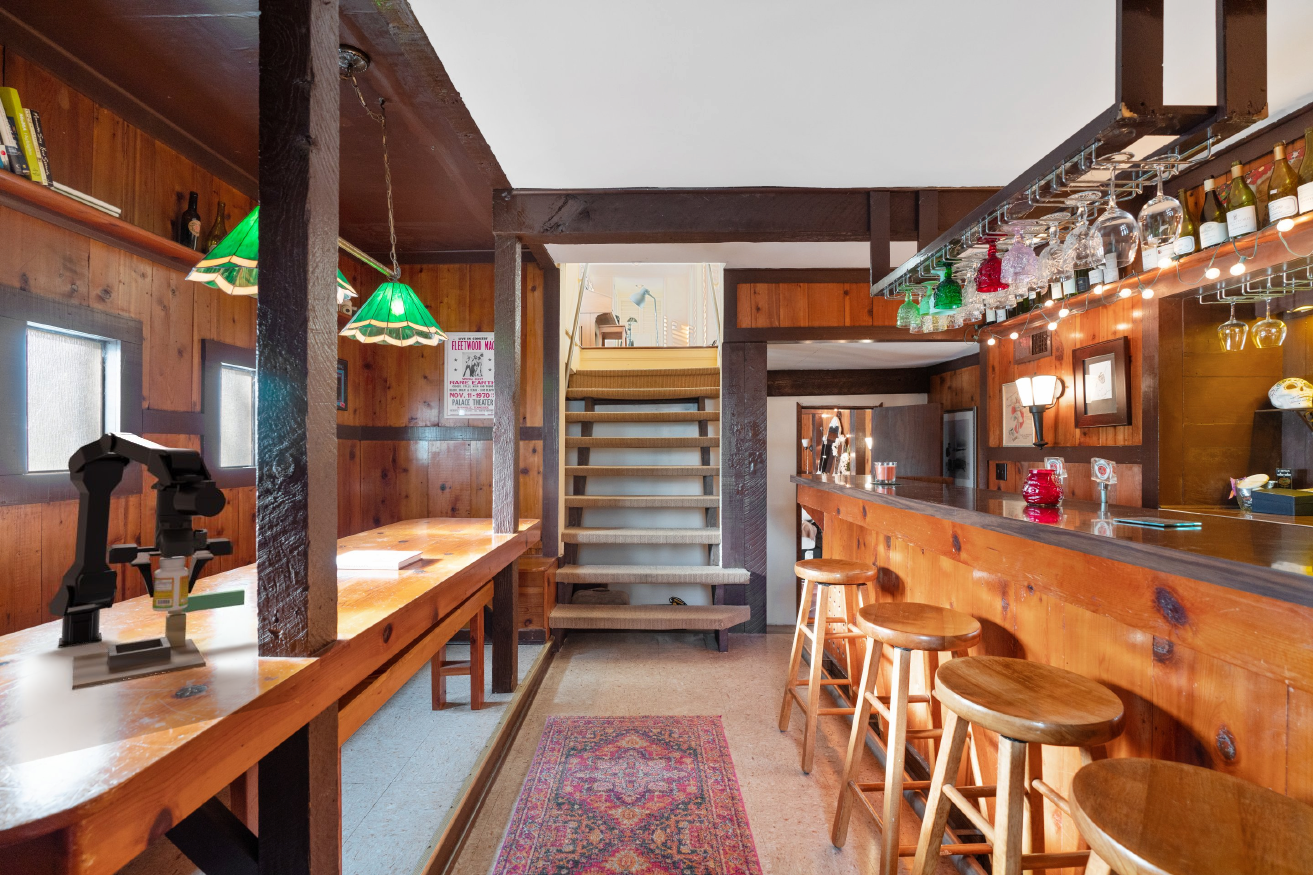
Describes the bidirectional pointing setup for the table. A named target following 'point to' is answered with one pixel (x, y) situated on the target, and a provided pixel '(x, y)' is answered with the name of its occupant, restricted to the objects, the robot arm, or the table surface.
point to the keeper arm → (212, 601)
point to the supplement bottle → (170, 585)
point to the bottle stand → (139, 657)
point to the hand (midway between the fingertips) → (170, 595)
